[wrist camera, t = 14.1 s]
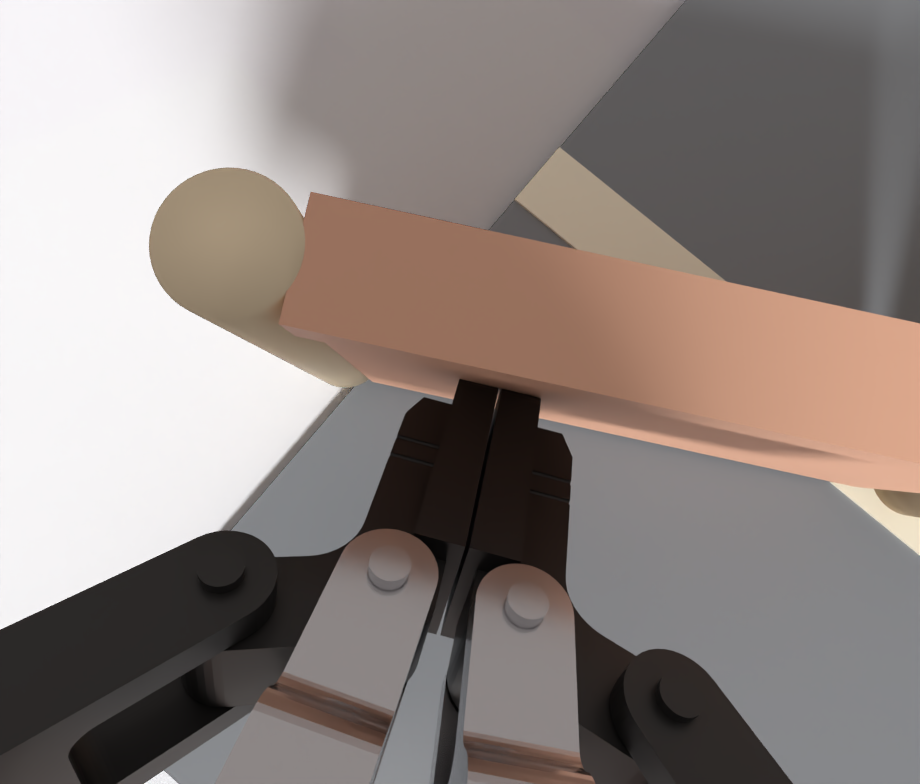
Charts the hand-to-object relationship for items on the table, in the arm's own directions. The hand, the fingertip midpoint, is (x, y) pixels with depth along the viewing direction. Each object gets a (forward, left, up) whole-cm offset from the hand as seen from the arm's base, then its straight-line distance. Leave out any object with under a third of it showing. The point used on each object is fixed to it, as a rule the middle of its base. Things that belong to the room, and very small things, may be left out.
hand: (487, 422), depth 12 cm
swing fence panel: (-2, -2, -4) cm, 5 cm away
